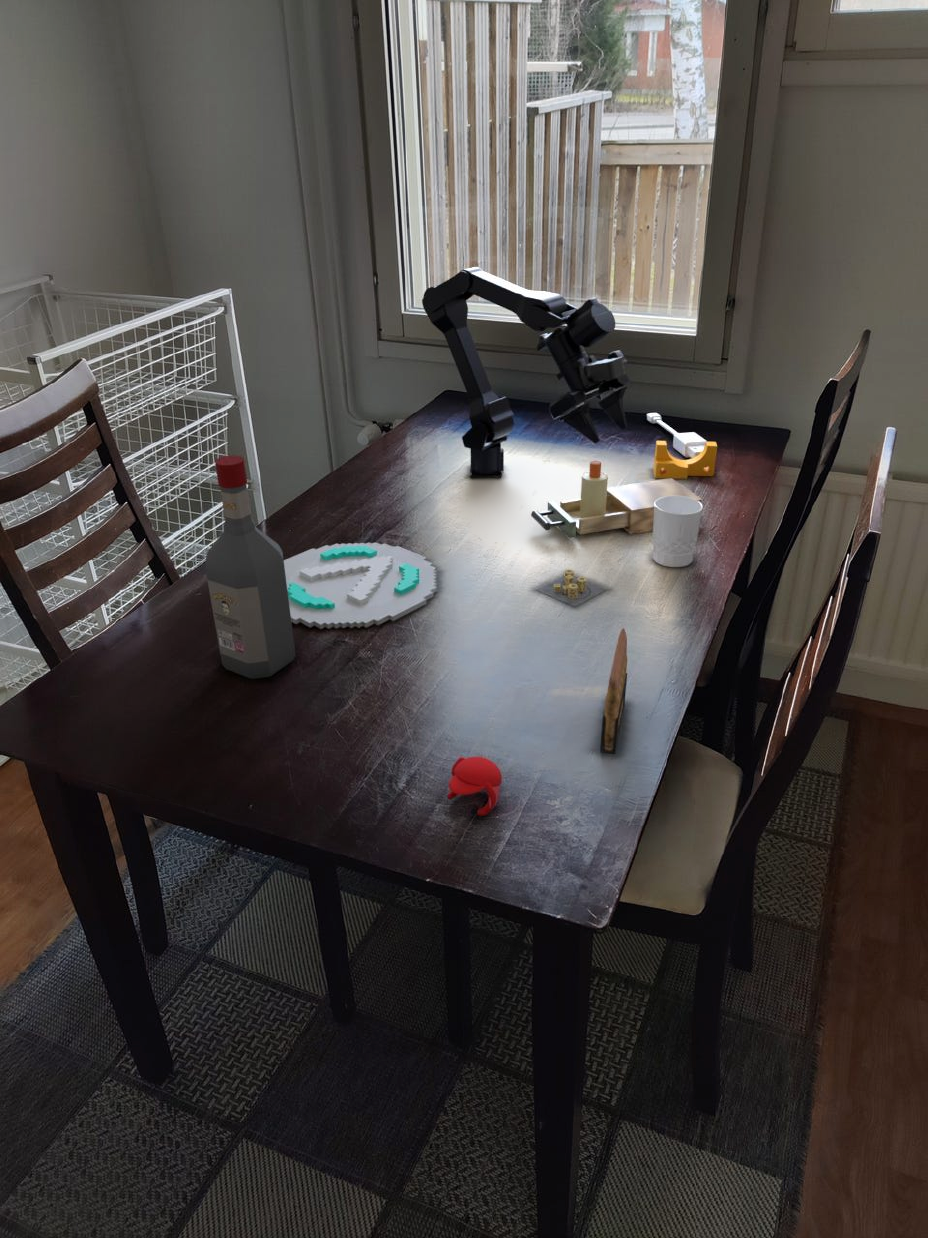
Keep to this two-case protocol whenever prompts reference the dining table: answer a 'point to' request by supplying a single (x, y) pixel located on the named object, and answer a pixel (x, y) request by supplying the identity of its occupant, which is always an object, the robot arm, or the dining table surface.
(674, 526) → the white cup
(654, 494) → the cabinet
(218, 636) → the liquor
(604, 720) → the ammunition clip
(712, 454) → the pipe clamp
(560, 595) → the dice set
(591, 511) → the glue bottle
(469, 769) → the cap
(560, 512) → the drawer
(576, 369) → the robot arm
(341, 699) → the dining table surface
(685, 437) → the charging cable
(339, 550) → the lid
